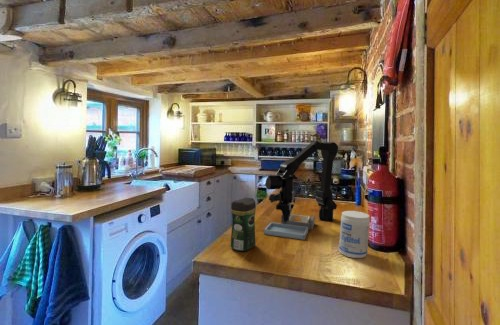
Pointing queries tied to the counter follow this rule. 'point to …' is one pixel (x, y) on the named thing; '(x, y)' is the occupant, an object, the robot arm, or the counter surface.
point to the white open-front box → (291, 217)
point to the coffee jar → (243, 224)
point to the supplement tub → (354, 234)
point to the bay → (309, 225)
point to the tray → (286, 230)
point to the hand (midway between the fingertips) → (286, 220)
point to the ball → (297, 218)
